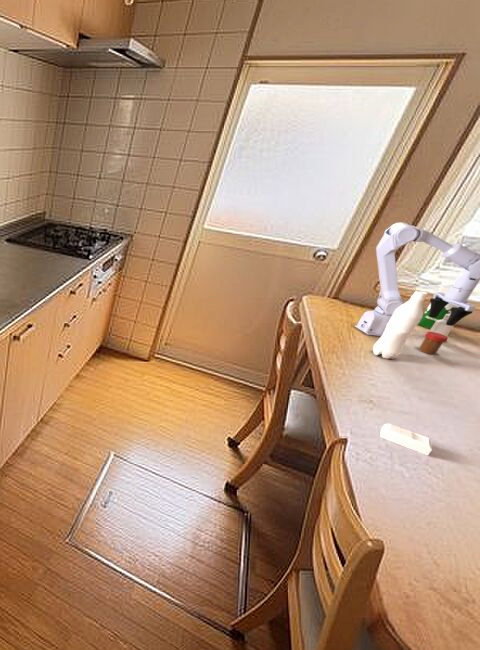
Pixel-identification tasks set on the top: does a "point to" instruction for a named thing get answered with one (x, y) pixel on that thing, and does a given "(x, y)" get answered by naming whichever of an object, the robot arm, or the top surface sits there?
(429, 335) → the lid
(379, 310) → the robot arm
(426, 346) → the jar
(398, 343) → the water bottle
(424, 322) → the milk carton
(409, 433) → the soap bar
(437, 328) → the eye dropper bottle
